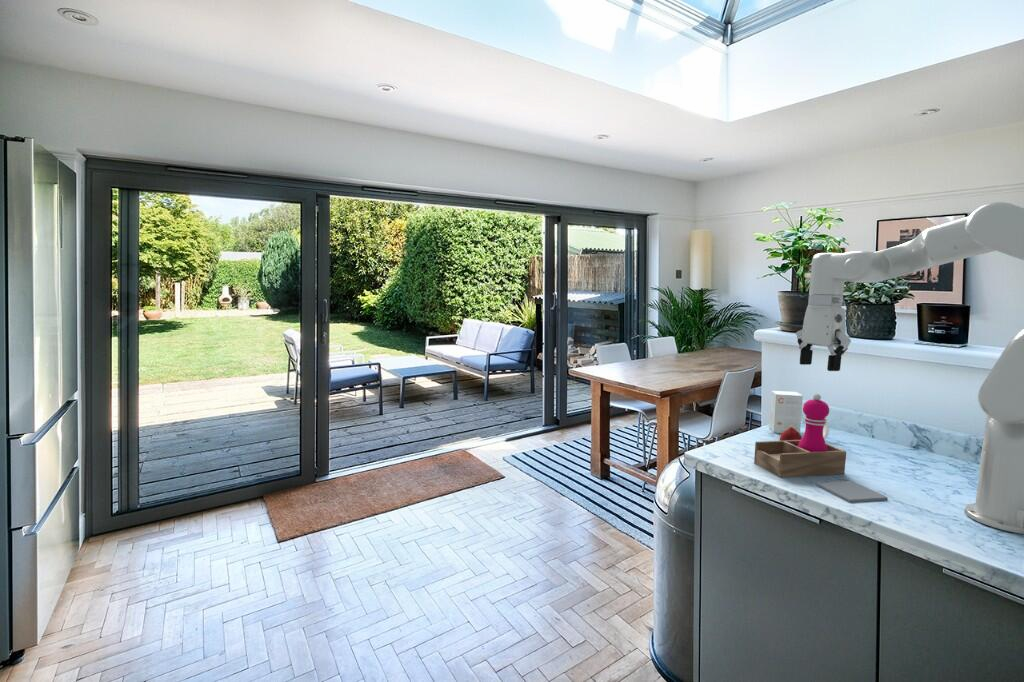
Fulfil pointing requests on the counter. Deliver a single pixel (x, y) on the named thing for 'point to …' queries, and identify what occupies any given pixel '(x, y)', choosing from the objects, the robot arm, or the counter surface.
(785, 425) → the small box
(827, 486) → the mat
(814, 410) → the pepper mill
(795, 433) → the onion
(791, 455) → the box
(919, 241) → the robot arm
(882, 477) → the counter surface
